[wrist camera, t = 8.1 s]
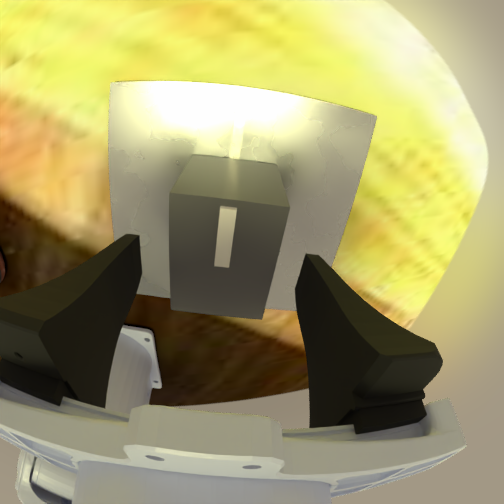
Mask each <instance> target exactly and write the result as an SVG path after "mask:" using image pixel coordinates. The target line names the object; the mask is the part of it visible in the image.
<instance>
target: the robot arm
mask: <svg viewBox="0 0 504 504" xmlns="http://www.w3.org/2000/svg"><path fill="white" fill-rule="evenodd" d="M141 276H142V262H141V250H140V235H135V234H125V235H123V236H122V237H120V238H119V239H118V240H116V241H115V242H113V243H112V244H110V245H109V246H108V247H106V248H105V249H103V250H102V251H101V252H99V253H98V254H96V255H95V256H93V257H92V258H90V259H89V260H87V261H86V262H84V263H83V264H81V265H80V266H78V267H76V268H75V269H73V270H71V271H69V272H67V273H66V274H64V275H62V276H60V277H58V278H56V279H53V280H51V281H49V282H47V283H45V284H42V285H40V286H37V287H35V288H32V289H29V290H26V291H23V292H20V293H17V294H13V295H9V296H5V297H1V298H0V356H1V358H2V359H1V361H0V437H1V438H3V439H5V440H6V441H8V442H9V443H12V444H13V445H15V446H17V447H18V448H21V451H20V455H19V460H18V466H17V471H18V474H17V479H16V484H15V488H16V490H17V491H18V493H17V496H18V498H19V499H20V501H21V502H22V503H23V504H332V502H331V498H332V497H337V496H342V495H346V494H351V493H355V492H359V491H363V490H367V489H370V488H374V487H377V486H381V485H384V484H387V483H391V482H394V481H397V480H400V479H403V478H406V477H409V476H412V475H414V474H417V473H420V472H423V471H425V470H428V469H430V468H432V467H434V466H436V465H437V464H439V463H441V462H443V461H444V460H446V459H448V458H450V457H451V456H453V455H454V454H456V453H458V452H459V451H461V450H462V449H464V448H465V447H466V445H467V444H466V441H465V438H464V435H463V432H462V429H461V427H460V424H459V421H458V419H457V416H456V413H455V411H454V408H453V406H452V403H451V401H450V399H449V398H446V399H442V400H438V401H434V402H430V403H428V404H426V405H425V406H424V405H423V402H422V399H424V398H425V393H424V391H423V389H424V388H425V387H426V385H428V383H429V382H430V381H431V380H432V379H433V378H434V377H435V376H436V375H437V373H438V372H439V371H440V368H441V366H442V363H443V360H442V358H441V355H440V354H439V351H438V349H437V347H436V345H435V343H433V342H431V341H428V340H426V339H424V338H422V337H420V336H417V335H415V334H413V333H411V332H410V331H408V330H406V329H404V328H402V327H401V326H399V325H397V324H396V323H394V322H393V321H391V320H390V319H388V318H387V317H385V316H384V315H382V314H381V313H380V312H378V311H377V310H376V309H374V308H373V307H372V306H371V305H369V304H368V303H367V302H366V301H364V300H363V299H362V298H361V297H360V296H359V295H358V294H357V293H356V292H355V291H354V290H352V289H351V288H350V287H349V286H348V285H347V284H346V283H345V282H344V281H343V280H342V279H341V277H340V276H339V275H338V274H337V273H336V272H335V271H334V270H333V269H332V268H331V267H330V266H329V265H328V264H327V263H326V262H325V260H324V259H323V258H322V257H320V256H319V255H315V254H305V257H304V260H303V264H302V267H301V270H300V274H299V277H298V280H297V283H296V287H295V301H296V310H297V315H298V319H299V324H300V328H301V332H302V337H303V341H304V346H305V351H306V357H307V367H308V379H309V401H310V427H309V428H303V429H282V427H281V423H279V422H278V421H276V420H273V419H272V418H269V417H267V416H259V415H252V414H235V413H220V412H209V411H199V410H190V409H182V408H175V407H168V406H160V405H149V400H150V395H151V391H152V388H158V389H159V388H161V387H162V382H161V376H160V371H159V365H158V360H157V354H156V348H155V341H154V335H153V332H152V331H151V330H149V329H144V328H138V327H132V326H126V325H123V324H124V322H125V319H126V317H127V315H128V312H129V310H130V307H131V305H132V303H133V300H134V298H135V296H136V293H137V290H138V287H139V284H140V280H141Z"/></svg>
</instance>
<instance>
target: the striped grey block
mask: <svg viewBox="0 0 504 504" xmlns="http://www.w3.org/2000/svg"><path fill="white" fill-rule="evenodd" d="M289 211H290V205H289V201H288V198H287V195H286V192H285V188H284V185H283V182H282V179H281V175H280V172H279V169H278V166H277V165H274V164H267V163H260V162H253V161H246V160H238V159H230V158H221V157H212V156H202V155H192V156H191V158H190V159H189V161H188V162H187V164H186V166H185V167H184V169H183V171H182V172H181V174H180V176H179V177H178V179H177V181H176V182H175V184H174V186H173V187H172V189H171V191H170V193H169V274H170V299H171V310H177V311H185V312H193V313H201V314H210V315H219V316H229V317H239V318H250V319H261V320H262V318H263V314H264V310H265V306H266V303H267V299H268V295H269V291H270V287H271V283H272V279H273V275H274V272H275V268H276V264H277V260H278V256H279V252H280V248H281V244H282V240H283V235H284V231H285V227H286V223H287V219H288V215H289Z"/></svg>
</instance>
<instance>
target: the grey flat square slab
mask: <svg viewBox="0 0 504 504" xmlns="http://www.w3.org/2000/svg"><path fill="white" fill-rule="evenodd" d="M376 119H377V116H375V115H372V114H369V113H366V112H362V111H359V110H355V109H352V108H348V107H345V106H341V105H337V104H333V103H329V102H325V101H321V100H316V99H312V98H307V97H303V96H298V95H293V94H287V93H282V92H276V91H270V90H264V89H257V88H250V87H242V86H234V85H224V84H213V83H200V82H181V81H127V82H111V84H110V99H109V130H108V151H109V182H110V198H111V211H112V222H113V232H114V241H116V240H118V239H119V238H120V237H122V236H123V235H125V234H135V235H140V250H141V262H142V276H141V280H140V284H139V287H138V290H137V294H143V295H150V296H158V297H165V298H170V274H169V193H170V191H171V189H172V187H173V186H174V184H175V182H176V181H177V179H178V177H179V176H180V174H181V172H182V171H183V169H184V167H185V166H186V164H187V162H188V161H189V159H190V158H191V156H192V155H202V156H212V157H221V158H230V159H238V160H246V161H253V162H260V163H267V164H274V165H277V166H278V169H279V172H280V175H281V179H282V182H283V185H284V188H285V192H286V195H287V198H288V201H289V205H290V211H289V215H288V219H287V223H286V227H285V231H284V235H283V240H282V244H281V248H280V252H279V256H278V260H277V264H276V268H275V272H274V275H273V279H272V283H271V287H270V291H269V295H268V299H267V303H266V306H265V309H278V310H291V311H297V310H296V301H295V287H296V283H297V280H298V277H299V274H300V270H301V267H302V264H303V260H304V257H305V254H315V255H319V256H320V257H322V258H323V259H324V260H325V262H326V263H327V264H328V265H329V266H330V267H331V266H332V263H333V261H334V258H335V255H336V252H337V249H338V247H339V244H340V241H341V238H342V235H343V232H344V229H345V226H346V223H347V220H348V217H349V214H350V211H351V208H352V205H353V201H354V198H355V195H356V192H357V188H358V185H359V182H360V178H361V175H362V171H363V168H364V164H365V161H366V157H367V154H368V150H369V146H370V142H371V139H372V135H373V131H374V127H375V123H376Z"/></svg>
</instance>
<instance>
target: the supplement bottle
mask: <svg viewBox="0 0 504 504" xmlns="http://www.w3.org/2000/svg"><path fill="white" fill-rule="evenodd" d="M4 276H5V264H4V260H3V257H2V254H1V252H0V283H1V281H2V280H3V278H4Z"/></svg>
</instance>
